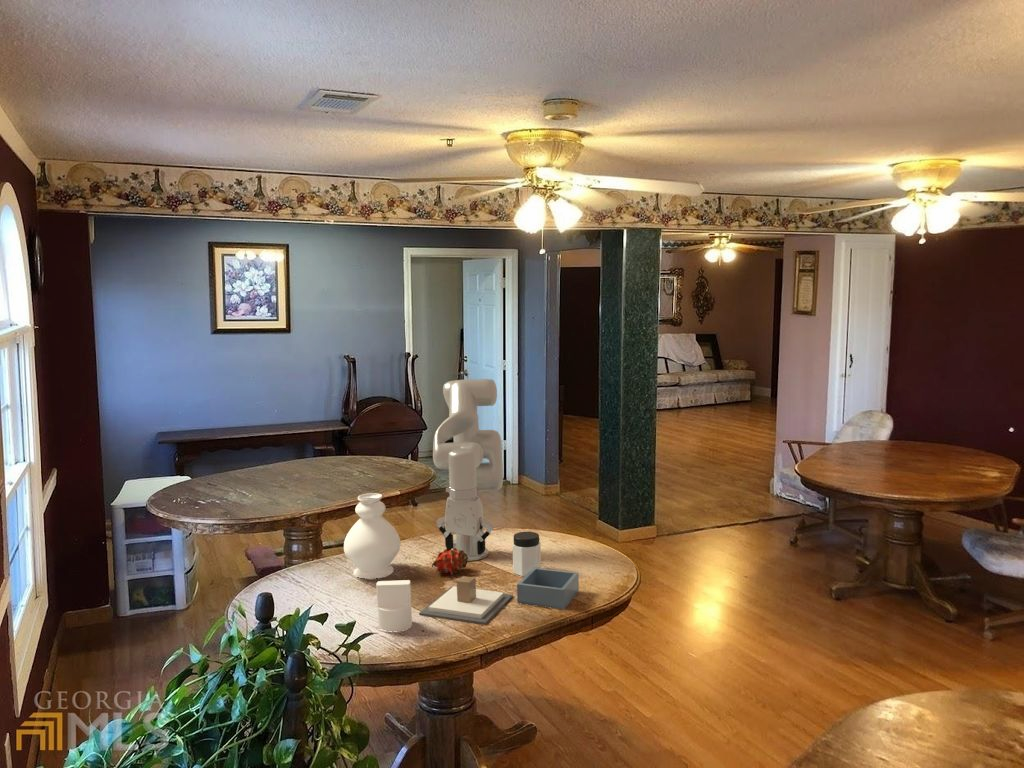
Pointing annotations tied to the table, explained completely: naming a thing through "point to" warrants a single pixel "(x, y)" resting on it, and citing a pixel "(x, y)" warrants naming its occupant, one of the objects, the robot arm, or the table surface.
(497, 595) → the lid
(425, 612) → the mat
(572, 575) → the open square box
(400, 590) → the cylinder with rectangular tab
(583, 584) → the table surface
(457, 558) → the dragon fruit
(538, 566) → the jar
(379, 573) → the decorative vase
